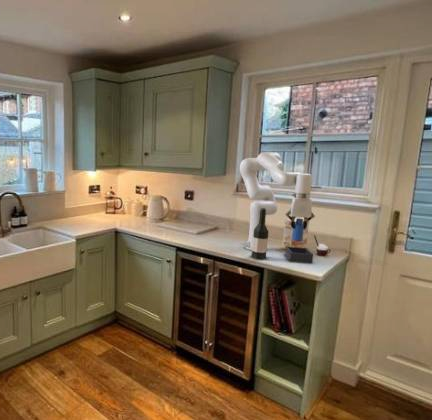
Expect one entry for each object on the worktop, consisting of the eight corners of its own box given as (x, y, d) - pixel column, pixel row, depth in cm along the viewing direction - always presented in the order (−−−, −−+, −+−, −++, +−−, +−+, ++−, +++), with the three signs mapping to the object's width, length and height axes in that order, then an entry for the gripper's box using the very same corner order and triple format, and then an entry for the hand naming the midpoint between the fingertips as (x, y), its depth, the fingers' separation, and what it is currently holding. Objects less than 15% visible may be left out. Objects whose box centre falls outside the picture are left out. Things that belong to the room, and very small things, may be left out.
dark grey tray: (290, 261, 210) (291, 252, 209) (285, 254, 223) (285, 246, 222) (312, 262, 207) (313, 254, 206) (305, 256, 220) (306, 248, 219)
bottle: (293, 240, 200) (295, 219, 198) (291, 238, 204) (293, 217, 202) (303, 241, 199) (305, 220, 196) (300, 239, 203) (303, 218, 201)
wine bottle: (248, 255, 219) (253, 207, 214) (261, 255, 220) (266, 207, 214) (255, 259, 211) (259, 209, 205) (268, 259, 212) (273, 209, 206)
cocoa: (330, 254, 223) (332, 236, 221) (328, 257, 218) (331, 238, 216) (312, 252, 229) (315, 233, 227) (311, 254, 224) (313, 235, 222)
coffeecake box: (290, 251, 230) (294, 221, 226) (281, 248, 236) (284, 219, 233) (306, 248, 236) (310, 219, 232) (297, 245, 242) (300, 217, 239)
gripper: (286, 196, 195) (283, 228, 199) (321, 197, 192) (317, 230, 195) (283, 194, 203) (280, 225, 206) (317, 196, 199) (313, 228, 202)
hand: (298, 228), depth 200 cm, fingers closed on bottle, 5 cm apart
